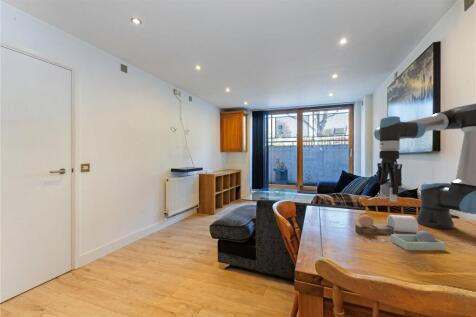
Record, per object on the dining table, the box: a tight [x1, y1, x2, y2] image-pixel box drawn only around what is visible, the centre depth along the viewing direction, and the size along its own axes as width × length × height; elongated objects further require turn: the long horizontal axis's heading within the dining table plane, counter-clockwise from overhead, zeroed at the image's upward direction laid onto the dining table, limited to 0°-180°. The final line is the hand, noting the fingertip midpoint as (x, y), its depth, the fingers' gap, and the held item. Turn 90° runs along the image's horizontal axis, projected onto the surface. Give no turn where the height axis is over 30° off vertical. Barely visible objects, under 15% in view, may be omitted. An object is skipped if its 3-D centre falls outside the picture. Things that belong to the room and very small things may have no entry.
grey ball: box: [415, 230, 436, 242], centre depth 87 cm, size 6×6×6 cm
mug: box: [386, 214, 419, 234], centre depth 107 cm, size 12×10×8 cm
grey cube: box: [381, 182, 391, 197], centre depth 98 cm, size 6×6×6 cm
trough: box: [390, 233, 446, 251], centre depth 87 cm, size 15×9×4 cm, turn 90°
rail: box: [354, 224, 395, 235], centre depth 102 cm, size 16×4×4 cm, turn 89°
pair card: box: [366, 238, 388, 245], centre depth 92 cm, size 8×6×1 cm
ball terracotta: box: [358, 214, 374, 228], centre depth 102 cm, size 6×6×6 cm
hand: (388, 200), depth 98 cm, fingers closed on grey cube, 6 cm apart
